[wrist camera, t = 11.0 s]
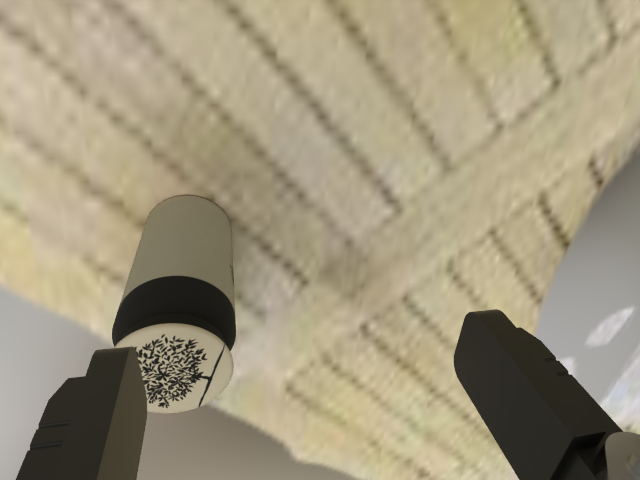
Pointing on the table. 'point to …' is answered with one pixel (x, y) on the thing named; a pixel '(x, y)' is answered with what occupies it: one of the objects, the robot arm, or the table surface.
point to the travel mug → (181, 305)
